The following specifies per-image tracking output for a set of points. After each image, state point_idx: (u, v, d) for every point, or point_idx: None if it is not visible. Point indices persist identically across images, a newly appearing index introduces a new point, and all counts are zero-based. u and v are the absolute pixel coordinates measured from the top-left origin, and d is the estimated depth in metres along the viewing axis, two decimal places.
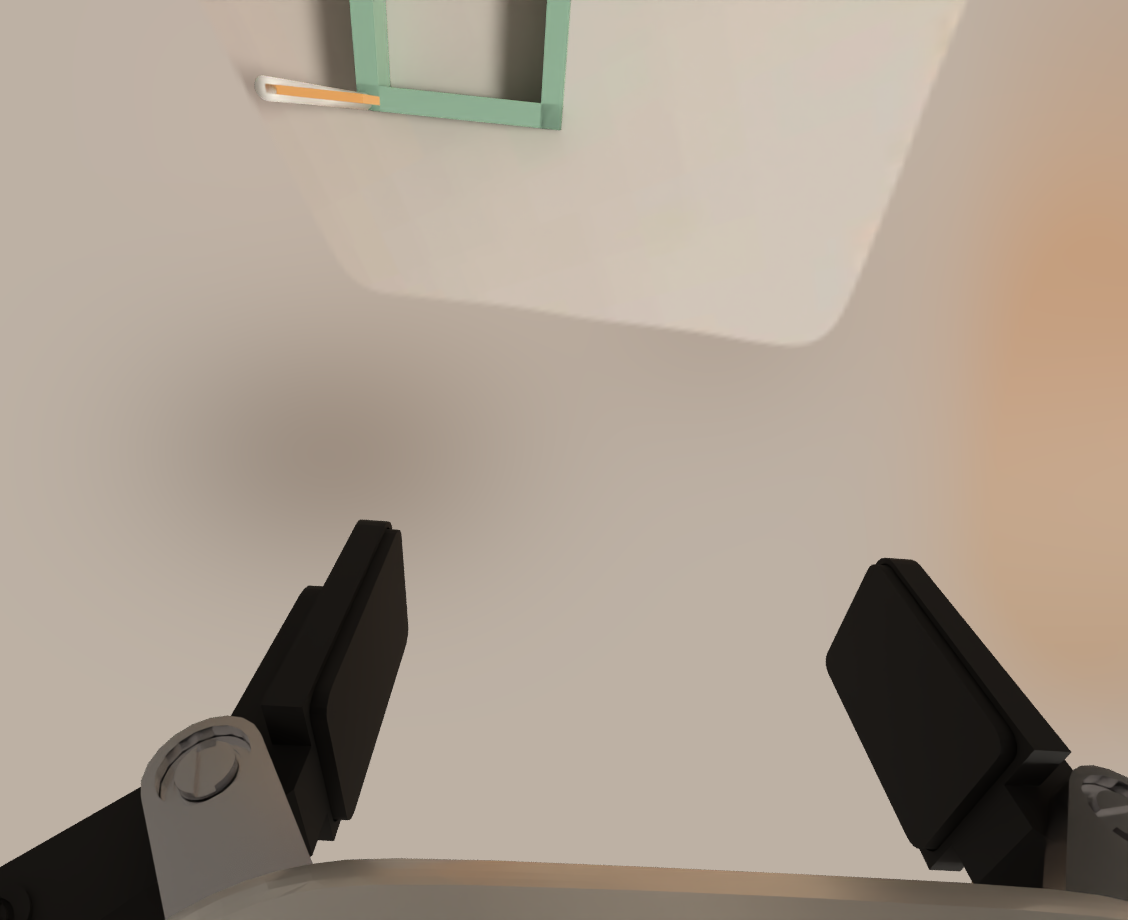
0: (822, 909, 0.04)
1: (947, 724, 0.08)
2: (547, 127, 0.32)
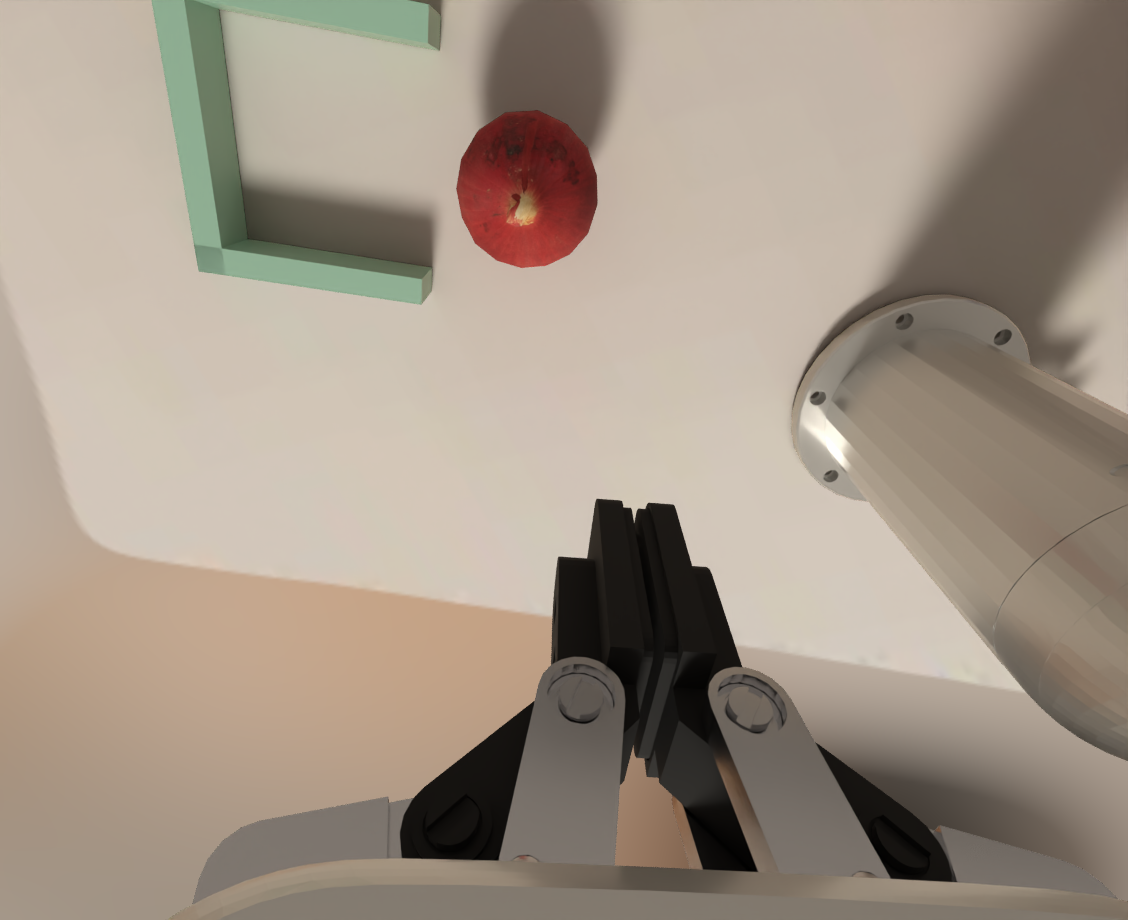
0: (822, 909, 0.04)
1: None
2: (197, 254, 0.25)
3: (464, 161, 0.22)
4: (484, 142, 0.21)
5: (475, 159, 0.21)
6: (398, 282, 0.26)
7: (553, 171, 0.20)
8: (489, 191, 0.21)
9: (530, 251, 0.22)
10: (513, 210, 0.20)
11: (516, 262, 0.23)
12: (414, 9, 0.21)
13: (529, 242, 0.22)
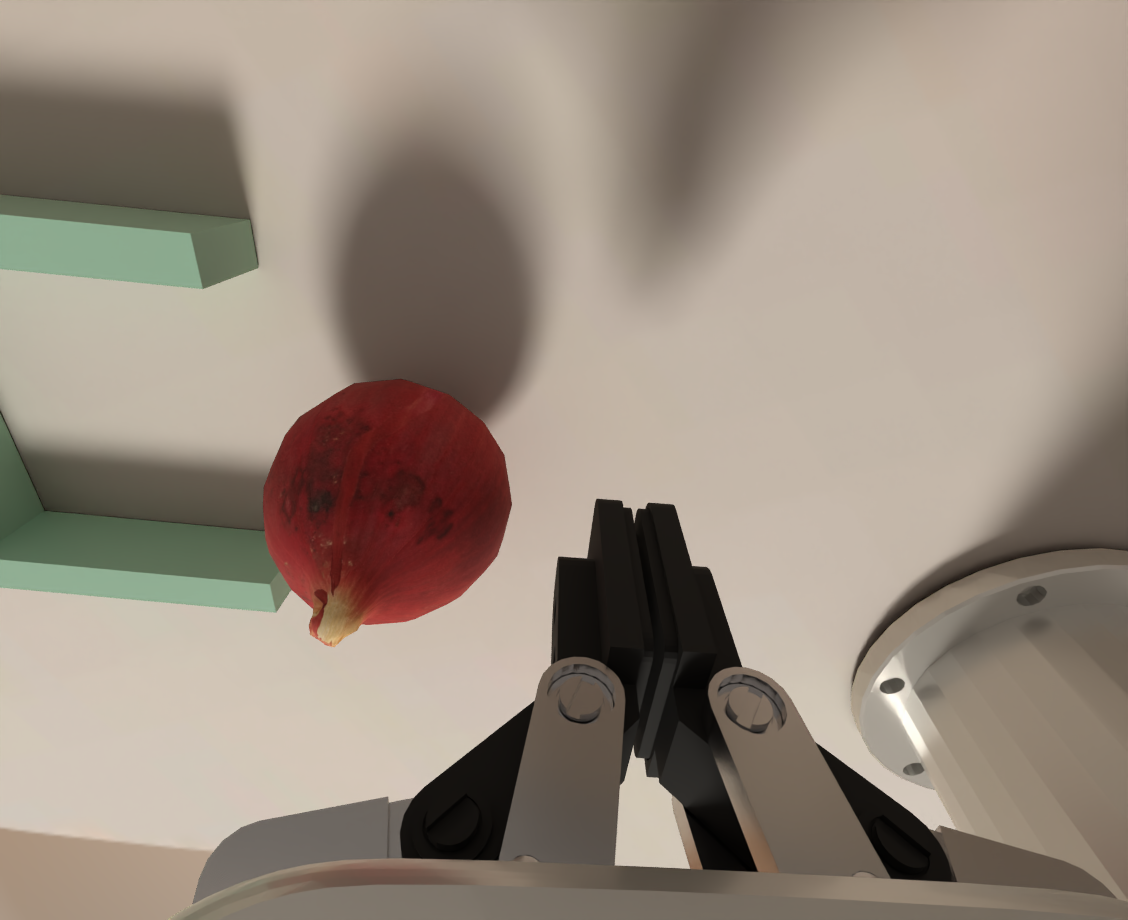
0: (822, 909, 0.04)
1: None
2: None
3: (265, 485, 0.13)
4: (284, 469, 0.12)
5: (272, 497, 0.12)
6: (236, 588, 0.17)
7: (395, 535, 0.11)
8: (287, 566, 0.11)
9: None
10: (315, 626, 0.11)
11: None
12: (168, 242, 0.12)
13: (377, 623, 0.12)
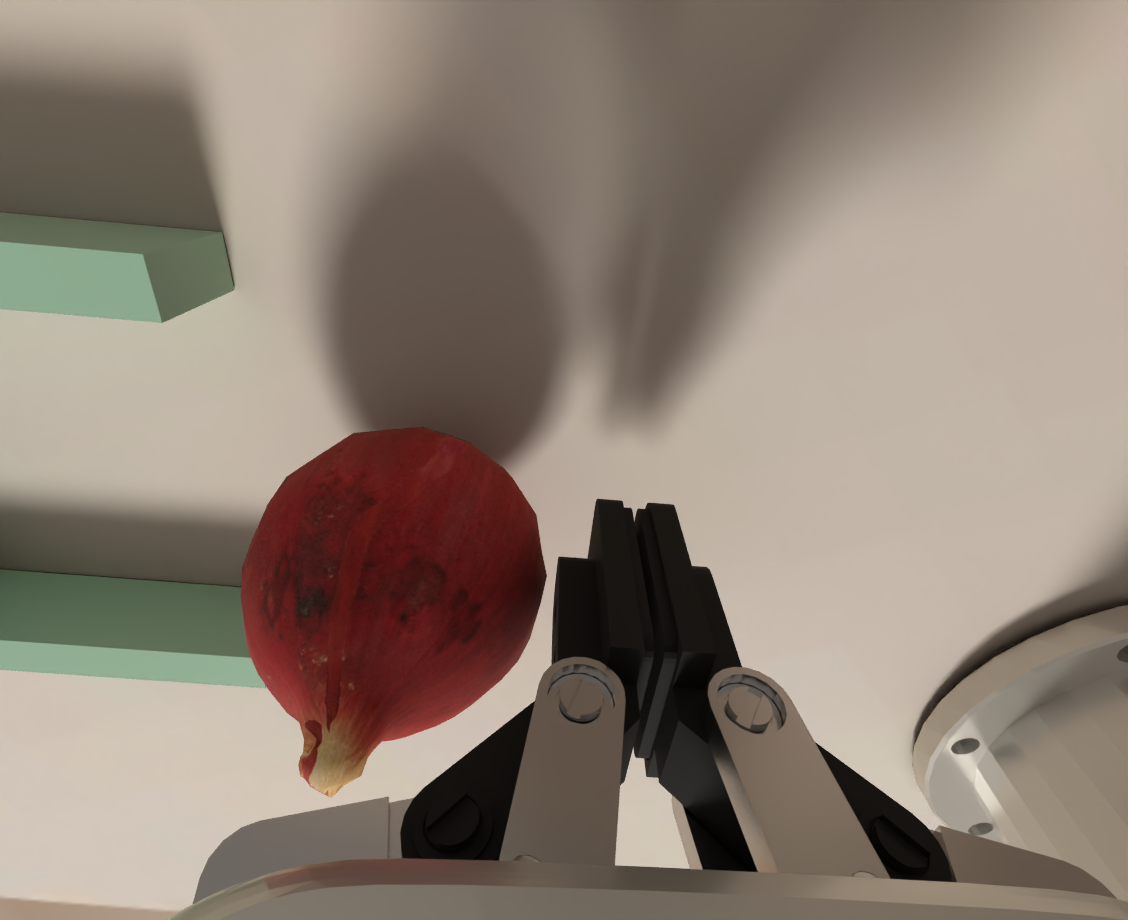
0: (822, 909, 0.04)
1: None
2: None
3: (244, 567, 0.10)
4: (266, 553, 0.09)
5: (251, 587, 0.09)
6: (218, 663, 0.15)
7: (409, 644, 0.09)
8: (270, 680, 0.09)
9: None
10: (305, 771, 0.08)
11: None
12: (115, 266, 0.10)
13: None
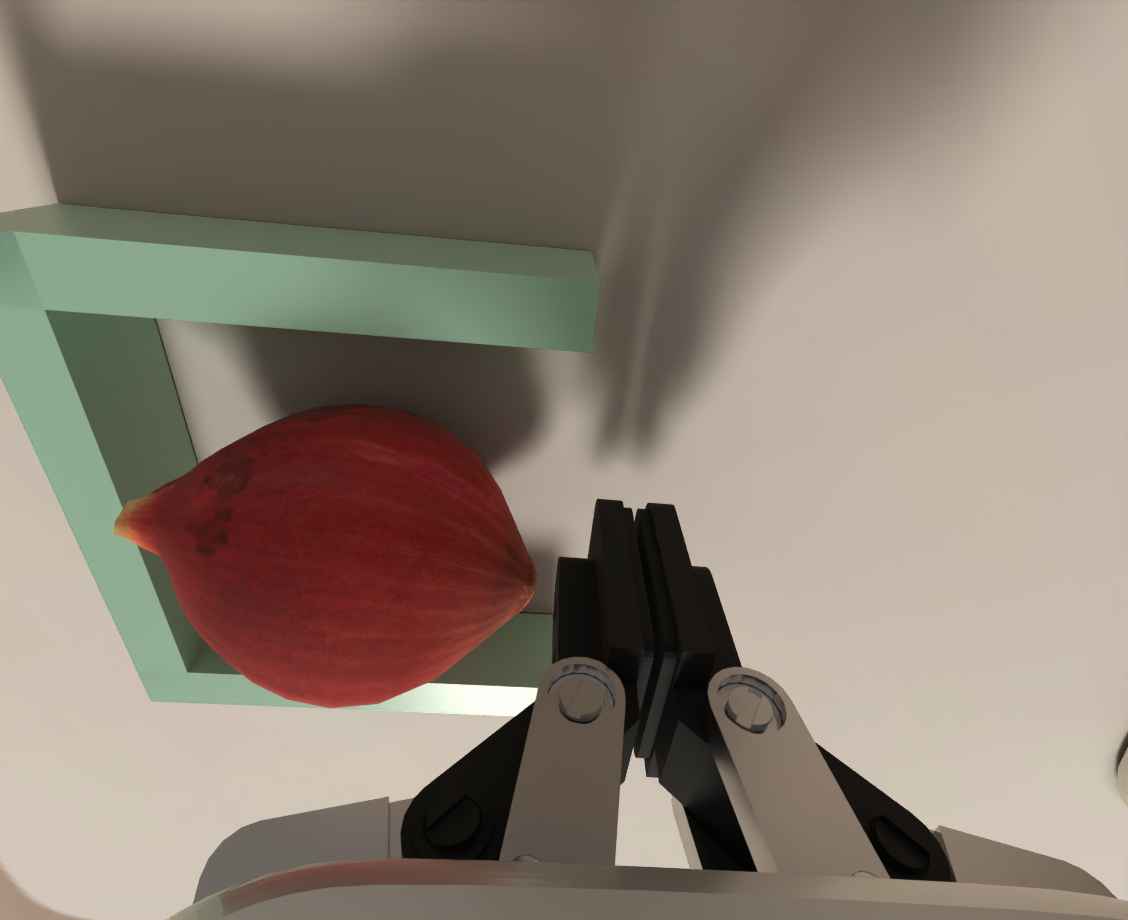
0: (822, 909, 0.04)
1: None
2: (145, 682, 0.14)
3: None
4: None
5: None
6: (509, 694, 0.14)
7: (188, 500, 0.09)
8: None
9: None
10: None
11: None
12: (567, 294, 0.09)
13: None
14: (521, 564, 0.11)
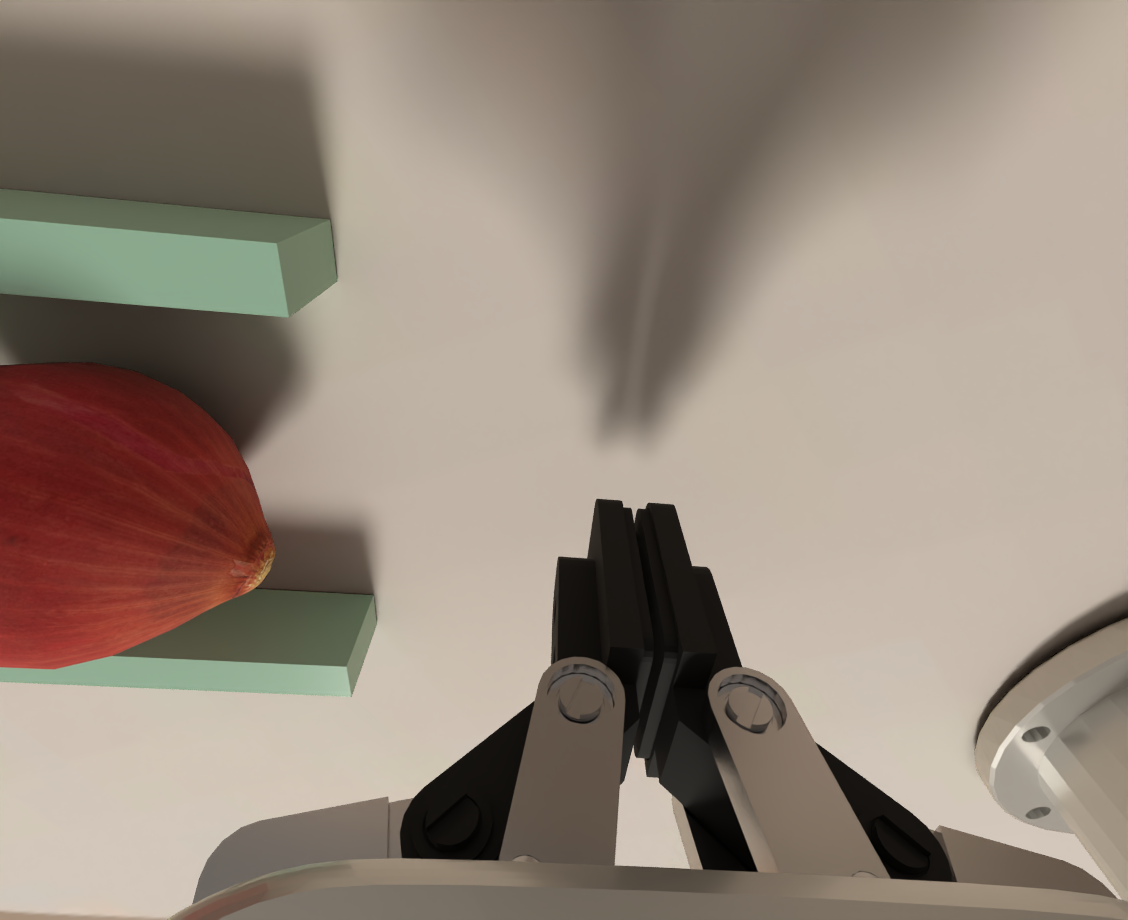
0: (822, 909, 0.04)
1: None
2: None
3: None
4: None
5: None
6: (304, 672, 0.14)
7: None
8: None
9: None
10: None
11: None
12: (245, 256, 0.09)
13: None
14: (231, 536, 0.11)
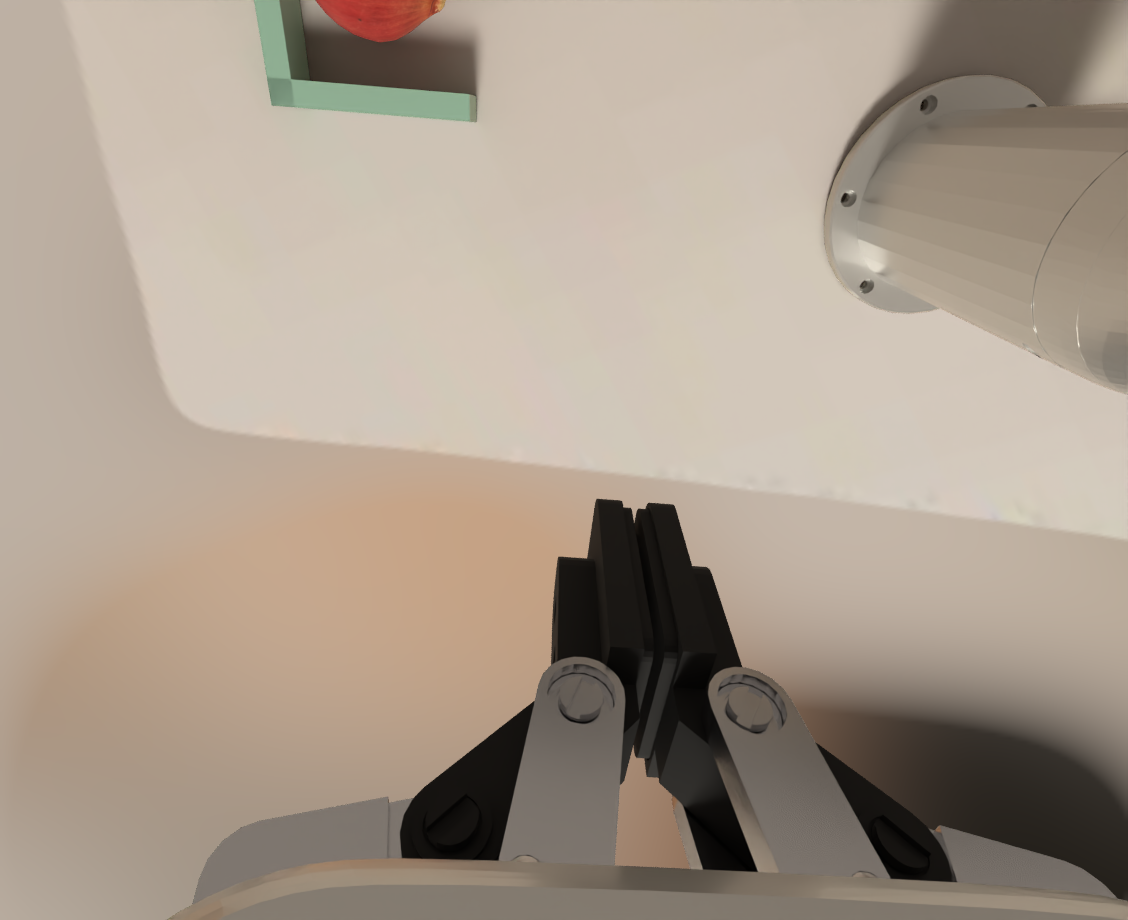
0: (822, 909, 0.04)
1: None
2: (270, 88, 0.28)
3: None
4: None
5: None
6: (448, 99, 0.29)
7: None
8: None
9: None
10: None
11: (324, 10, 0.26)
12: None
13: None
14: None
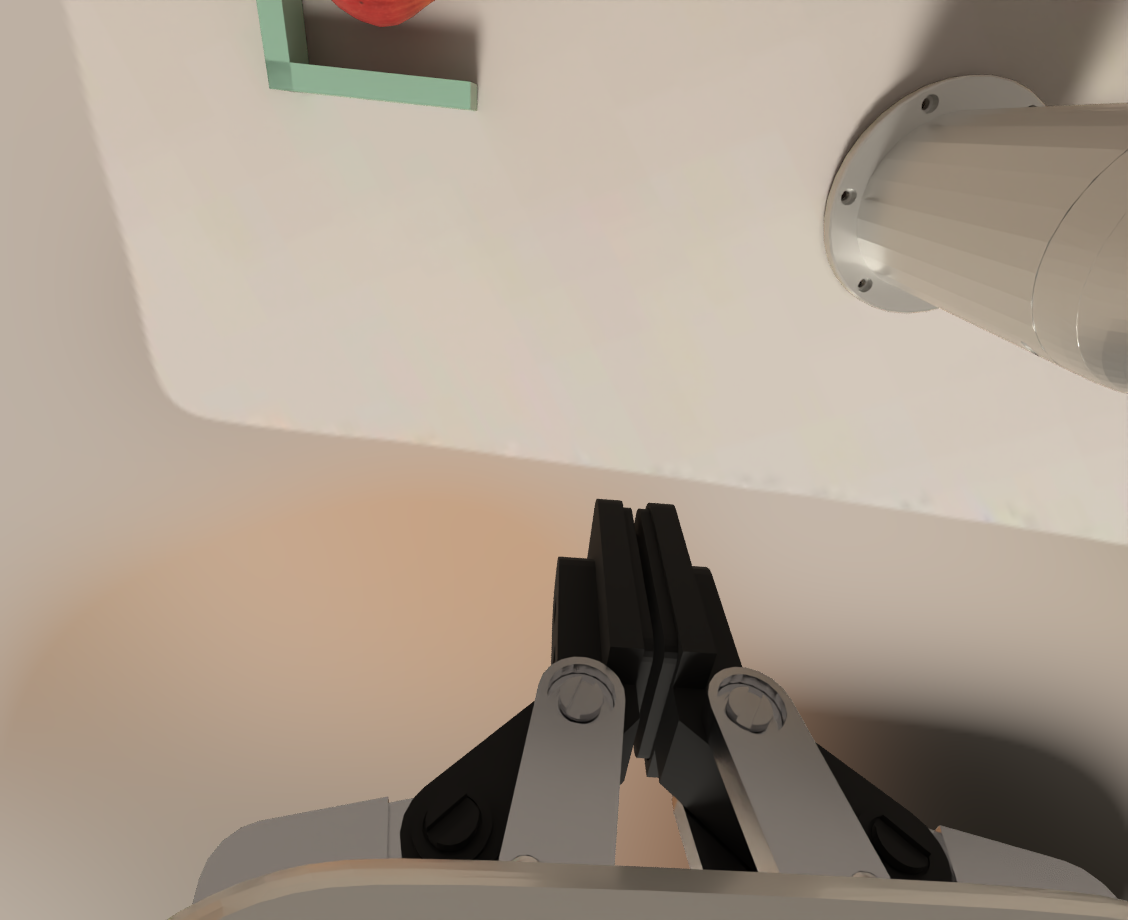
0: (822, 909, 0.04)
1: None
2: (268, 70, 0.28)
3: None
4: None
5: None
6: (449, 86, 0.28)
7: None
8: None
9: None
10: None
11: None
12: None
13: None
14: None
